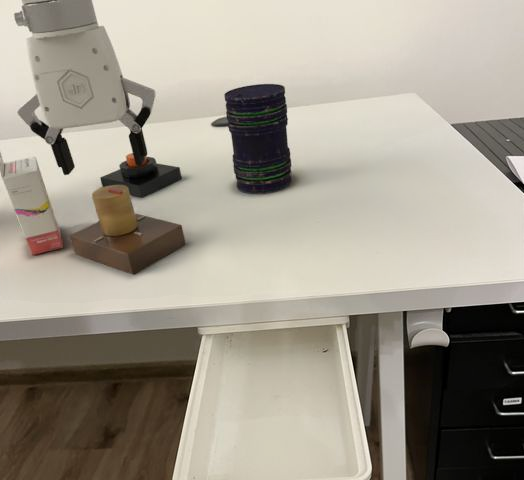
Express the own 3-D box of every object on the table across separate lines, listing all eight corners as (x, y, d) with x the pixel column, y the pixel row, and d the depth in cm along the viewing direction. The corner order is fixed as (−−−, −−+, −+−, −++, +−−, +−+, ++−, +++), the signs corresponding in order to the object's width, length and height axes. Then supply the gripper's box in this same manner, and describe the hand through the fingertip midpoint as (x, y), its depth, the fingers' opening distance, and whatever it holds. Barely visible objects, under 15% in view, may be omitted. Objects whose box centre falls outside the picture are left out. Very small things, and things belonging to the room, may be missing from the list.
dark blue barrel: (271, 169, 101) (263, 81, 92) (304, 182, 94) (298, 87, 85) (225, 184, 97) (212, 94, 88) (255, 199, 90) (244, 101, 81)
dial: (95, 232, 78) (83, 192, 75) (122, 219, 81) (112, 180, 78) (117, 238, 75) (106, 198, 72) (145, 224, 78) (135, 185, 75)
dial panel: (75, 254, 80) (68, 234, 78) (127, 228, 86) (122, 208, 84) (133, 274, 73) (127, 253, 71) (185, 244, 79) (181, 223, 77)
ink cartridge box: (65, 248, 82) (30, 148, 74) (31, 256, 81) (-8, 156, 73) (60, 228, 89) (28, 134, 80) (29, 235, 88) (-7, 141, 79)
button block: (103, 189, 102) (97, 167, 100) (143, 171, 108) (138, 151, 106) (141, 197, 96) (136, 175, 94) (182, 178, 102) (177, 157, 100)
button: (124, 166, 100) (121, 156, 99) (138, 160, 102) (136, 150, 101) (136, 169, 98) (134, 159, 97) (151, 162, 100) (149, 153, 99)
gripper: (-24, 32, 60) (33, 185, 70) (130, 10, 59) (165, 167, 69) (1, 25, 66) (50, 166, 76) (141, 5, 66) (172, 150, 76)
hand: (105, 167), depth 73 cm, fingers open, 9 cm apart
